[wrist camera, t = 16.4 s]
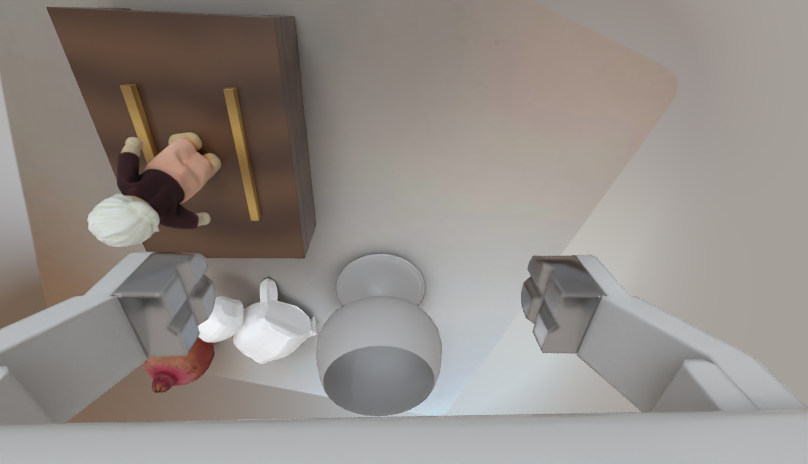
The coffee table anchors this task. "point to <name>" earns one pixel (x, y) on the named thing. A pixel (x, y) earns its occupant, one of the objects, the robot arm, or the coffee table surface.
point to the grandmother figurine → (154, 191)
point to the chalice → (379, 339)
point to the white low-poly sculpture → (259, 325)
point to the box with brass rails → (204, 116)
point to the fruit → (180, 367)
